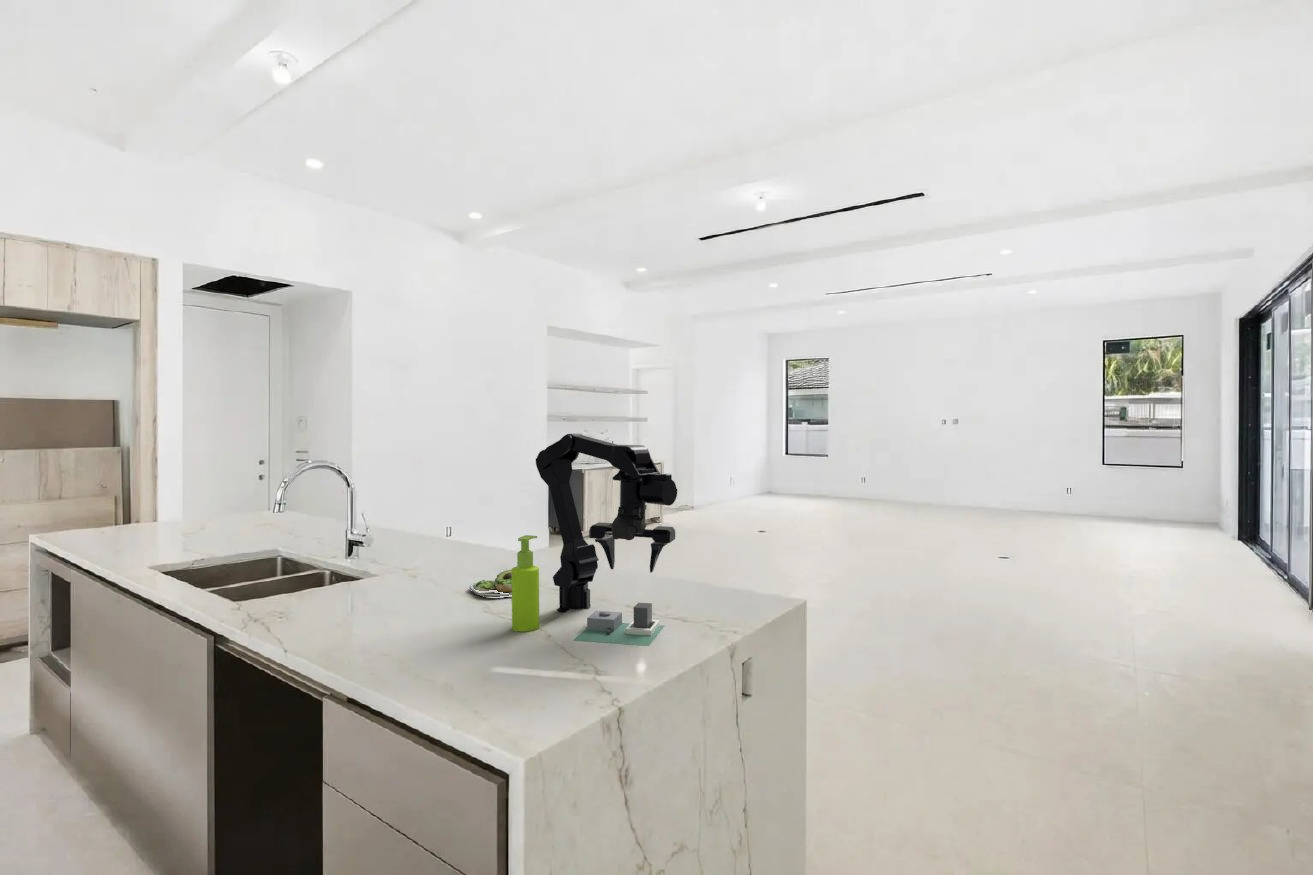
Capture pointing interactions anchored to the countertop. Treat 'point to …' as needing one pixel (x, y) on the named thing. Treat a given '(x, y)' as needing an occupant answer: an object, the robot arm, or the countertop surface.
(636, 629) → the board
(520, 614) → the soap dispenser
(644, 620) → the plug
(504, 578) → the salad plate
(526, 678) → the countertop surface
